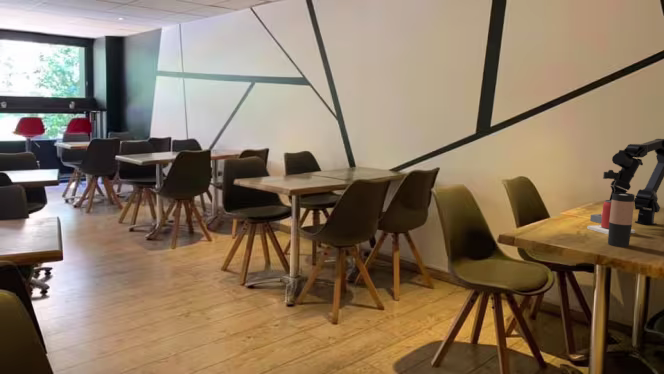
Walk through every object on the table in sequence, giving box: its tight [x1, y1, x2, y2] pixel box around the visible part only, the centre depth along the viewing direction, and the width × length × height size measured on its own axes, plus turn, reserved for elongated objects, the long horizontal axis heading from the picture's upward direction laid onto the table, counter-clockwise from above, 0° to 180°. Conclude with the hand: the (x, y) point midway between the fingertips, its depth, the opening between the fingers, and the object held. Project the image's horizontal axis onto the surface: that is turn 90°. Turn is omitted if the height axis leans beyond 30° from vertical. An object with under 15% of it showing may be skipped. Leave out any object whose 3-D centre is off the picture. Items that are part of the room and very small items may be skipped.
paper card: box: [587, 224, 636, 235], centre depth 221 cm, size 14×12×1 cm
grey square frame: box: [589, 213, 602, 224], centre depth 239 cm, size 9×9×3 cm
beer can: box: [600, 199, 612, 229], centre depth 220 cm, size 7×7×12 cm
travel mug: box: [607, 192, 636, 248], centre depth 195 cm, size 8×8×20 cm
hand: (611, 201), depth 230 cm, fingers open, 9 cm apart
